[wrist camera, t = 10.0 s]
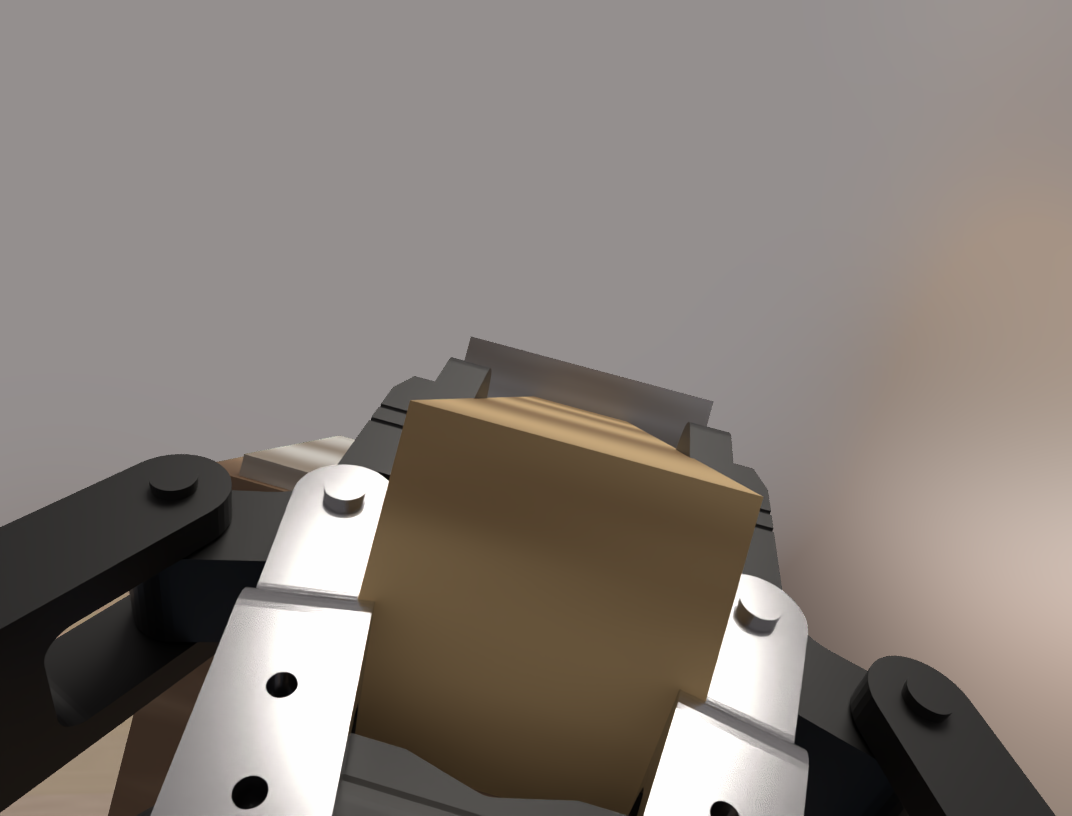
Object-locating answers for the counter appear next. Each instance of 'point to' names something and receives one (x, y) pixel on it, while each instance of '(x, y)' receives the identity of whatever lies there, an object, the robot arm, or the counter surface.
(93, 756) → the counter surface
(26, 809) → the counter surface
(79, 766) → the counter surface
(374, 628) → the wood block with plate
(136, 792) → the zigzag wood block
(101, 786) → the counter surface
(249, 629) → the robot arm
